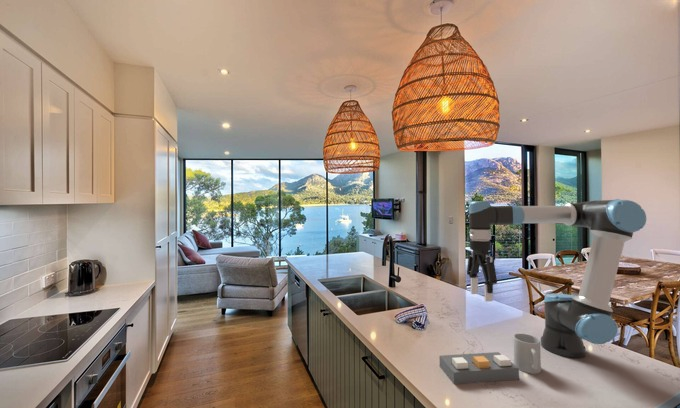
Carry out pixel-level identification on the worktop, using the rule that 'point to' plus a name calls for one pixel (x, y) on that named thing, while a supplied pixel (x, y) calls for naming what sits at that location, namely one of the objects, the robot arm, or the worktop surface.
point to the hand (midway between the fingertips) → (481, 297)
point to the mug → (527, 353)
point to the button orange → (481, 362)
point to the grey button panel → (467, 372)
